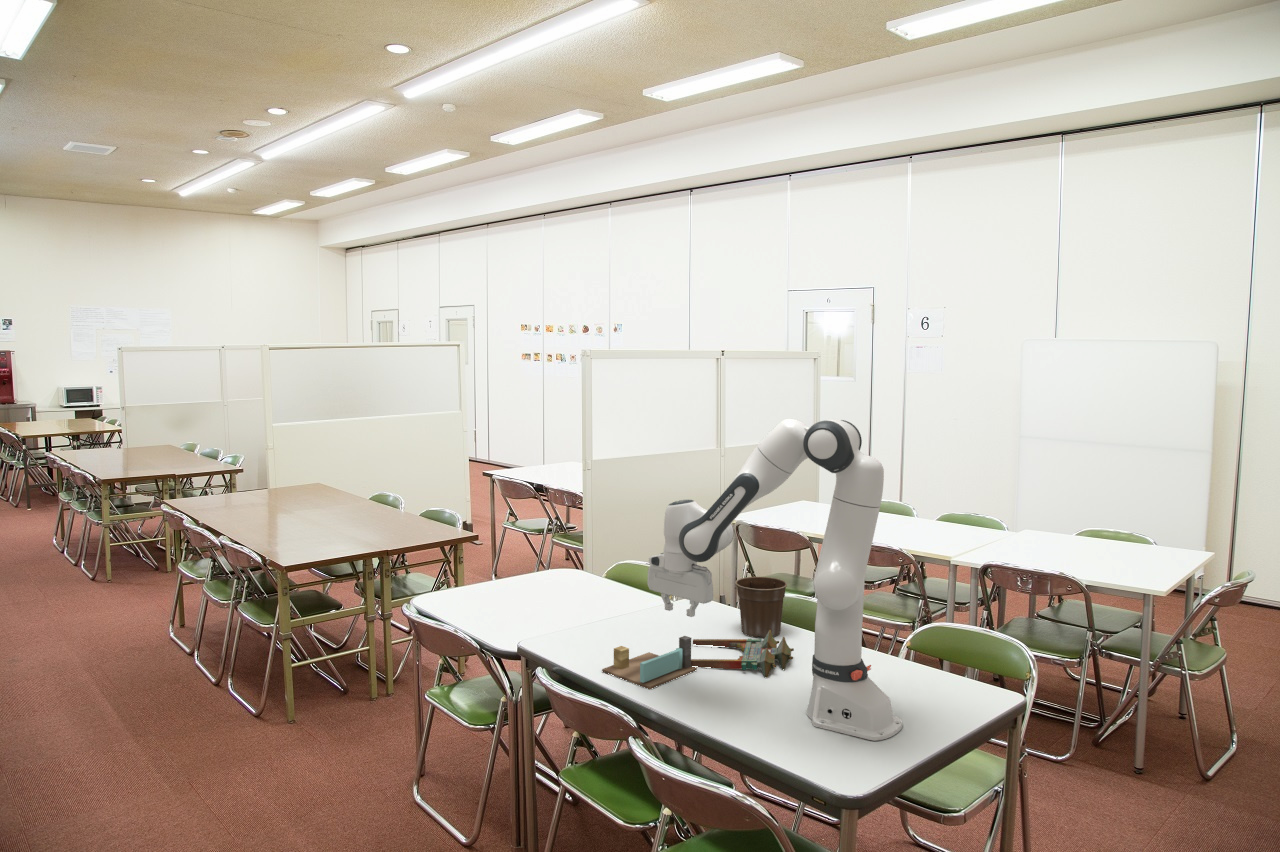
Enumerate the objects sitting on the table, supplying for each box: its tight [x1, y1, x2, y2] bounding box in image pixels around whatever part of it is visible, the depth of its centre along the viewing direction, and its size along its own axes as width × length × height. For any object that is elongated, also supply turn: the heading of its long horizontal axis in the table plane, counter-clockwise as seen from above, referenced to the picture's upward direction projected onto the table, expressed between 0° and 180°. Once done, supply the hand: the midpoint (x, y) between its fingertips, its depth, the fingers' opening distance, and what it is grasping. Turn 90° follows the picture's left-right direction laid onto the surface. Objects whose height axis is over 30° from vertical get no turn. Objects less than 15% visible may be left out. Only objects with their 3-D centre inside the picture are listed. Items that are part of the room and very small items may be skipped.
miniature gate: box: [691, 630, 794, 678], centre depth 240 cm, size 27×6×30 cm
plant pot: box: [735, 576, 788, 639], centre depth 264 cm, size 16×16×16 cm
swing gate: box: [640, 647, 682, 683], centre depth 224 cm, size 2×16×5 cm, turn 137°
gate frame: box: [601, 635, 698, 690], centre depth 230 cm, size 18×19×9 cm
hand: (679, 613), depth 219 cm, fingers open, 6 cm apart
